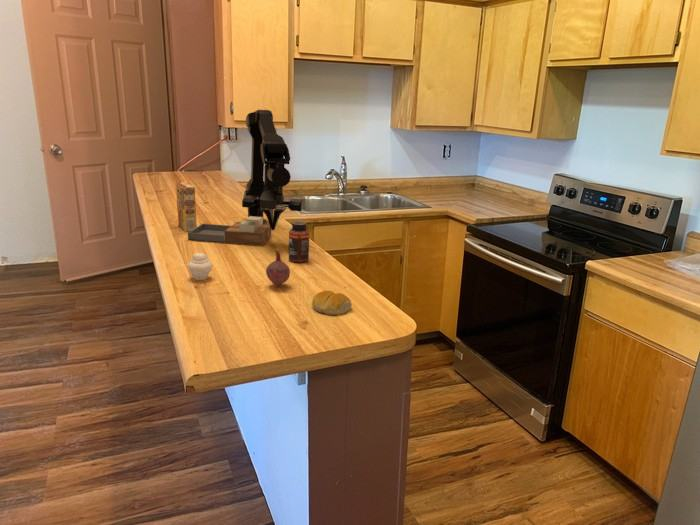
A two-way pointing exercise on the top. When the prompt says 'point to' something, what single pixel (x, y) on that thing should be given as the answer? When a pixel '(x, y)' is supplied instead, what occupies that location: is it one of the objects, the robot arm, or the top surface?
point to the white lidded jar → (199, 266)
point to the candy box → (186, 206)
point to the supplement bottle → (298, 242)
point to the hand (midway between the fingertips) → (273, 229)
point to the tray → (208, 233)
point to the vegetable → (278, 271)
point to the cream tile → (256, 220)
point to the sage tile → (248, 226)
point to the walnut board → (247, 235)
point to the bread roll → (331, 303)
